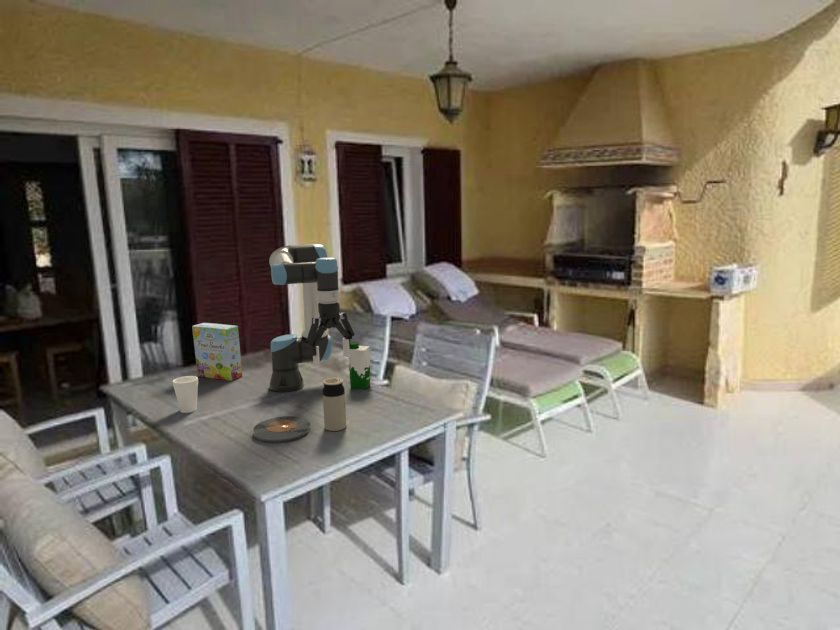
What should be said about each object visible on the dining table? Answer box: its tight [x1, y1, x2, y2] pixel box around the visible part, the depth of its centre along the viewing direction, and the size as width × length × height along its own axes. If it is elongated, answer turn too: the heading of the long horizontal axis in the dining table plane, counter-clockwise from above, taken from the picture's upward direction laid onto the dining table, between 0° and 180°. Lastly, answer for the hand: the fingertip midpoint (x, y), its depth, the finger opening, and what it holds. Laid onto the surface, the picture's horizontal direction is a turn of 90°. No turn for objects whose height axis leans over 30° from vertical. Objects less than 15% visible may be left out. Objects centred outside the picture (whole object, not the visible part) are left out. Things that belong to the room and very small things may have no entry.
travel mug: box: [322, 377, 347, 432], centre depth 205 cm, size 8×8×18 cm
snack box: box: [191, 322, 243, 382], centre depth 270 cm, size 22×9×26 cm, turn 67°
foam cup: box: [172, 375, 199, 414], centre depth 227 cm, size 10×9×13 cm
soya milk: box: [348, 342, 371, 390], centre depth 251 cm, size 9×9×20 cm
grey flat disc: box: [252, 415, 311, 444], centre depth 204 cm, size 20×20×2 cm
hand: (331, 360), depth 202 cm, fingers open, 13 cm apart
